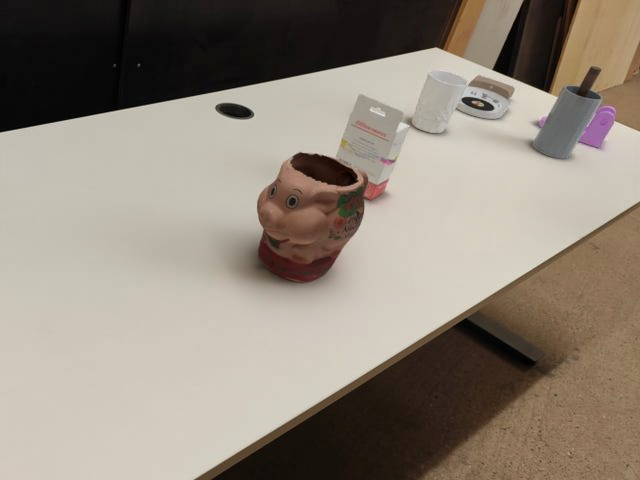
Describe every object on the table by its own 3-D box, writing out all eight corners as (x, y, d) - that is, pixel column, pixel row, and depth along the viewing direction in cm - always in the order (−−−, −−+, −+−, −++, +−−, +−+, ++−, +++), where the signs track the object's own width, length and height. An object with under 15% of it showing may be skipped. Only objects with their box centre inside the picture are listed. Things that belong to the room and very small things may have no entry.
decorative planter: (305, 219, 102) (334, 131, 93) (372, 258, 96) (411, 169, 87) (219, 259, 90) (243, 164, 81) (290, 307, 85) (324, 210, 75)
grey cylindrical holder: (576, 158, 137) (611, 100, 129) (548, 158, 135) (582, 99, 126) (552, 142, 142) (584, 85, 134) (524, 141, 140) (555, 84, 132)
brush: (566, 152, 137) (613, 72, 126) (550, 152, 136) (595, 71, 125) (552, 142, 140) (596, 64, 129) (535, 142, 139) (579, 62, 128)
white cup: (448, 126, 140) (470, 77, 133) (443, 138, 134) (466, 89, 128) (411, 114, 142) (431, 66, 135) (405, 126, 136) (425, 77, 129)
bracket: (600, 140, 147) (619, 109, 142) (598, 147, 143) (618, 116, 139) (540, 120, 151) (557, 89, 146) (537, 127, 147) (554, 95, 142)
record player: (521, 88, 156) (501, 110, 143) (515, 101, 158) (494, 124, 145) (473, 71, 160) (449, 92, 147) (467, 84, 162) (443, 106, 149)
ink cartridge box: (384, 193, 112) (420, 107, 102) (370, 201, 109) (405, 113, 100) (341, 171, 116) (372, 86, 106) (326, 179, 113) (356, 92, 103)
